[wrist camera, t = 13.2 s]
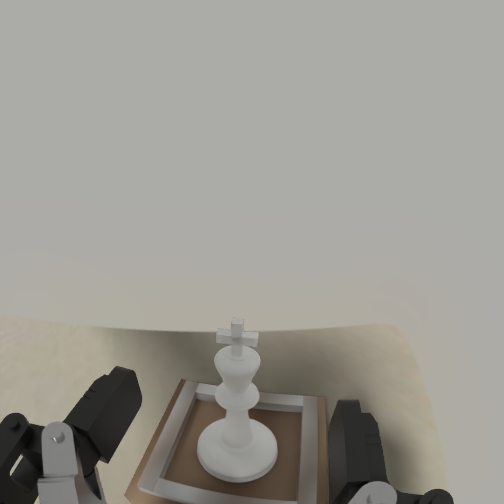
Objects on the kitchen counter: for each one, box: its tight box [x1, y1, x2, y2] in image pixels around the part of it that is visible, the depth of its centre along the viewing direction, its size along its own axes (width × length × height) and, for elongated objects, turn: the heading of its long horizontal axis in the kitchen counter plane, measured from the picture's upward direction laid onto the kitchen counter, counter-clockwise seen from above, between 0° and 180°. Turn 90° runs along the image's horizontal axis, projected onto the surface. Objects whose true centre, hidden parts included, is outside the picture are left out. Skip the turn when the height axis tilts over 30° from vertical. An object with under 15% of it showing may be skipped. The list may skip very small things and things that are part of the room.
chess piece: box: [197, 318, 278, 483], centre depth 13 cm, size 5×5×10 cm
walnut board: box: [124, 379, 327, 504], centre depth 15 cm, size 11×11×2 cm
